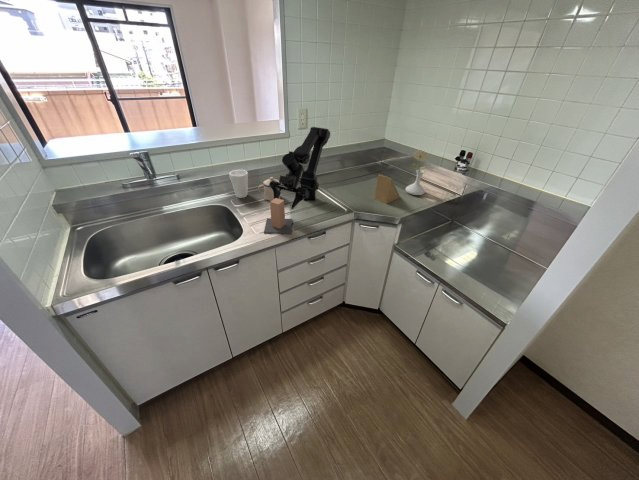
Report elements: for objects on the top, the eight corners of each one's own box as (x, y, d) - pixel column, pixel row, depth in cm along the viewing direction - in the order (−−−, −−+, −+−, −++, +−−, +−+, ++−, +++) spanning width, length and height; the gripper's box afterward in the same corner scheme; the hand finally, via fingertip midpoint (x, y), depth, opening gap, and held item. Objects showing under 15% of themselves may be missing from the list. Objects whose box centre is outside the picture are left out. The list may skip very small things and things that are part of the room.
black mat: (291, 219, 127) (291, 218, 127) (290, 233, 117) (290, 232, 117) (266, 219, 126) (266, 218, 126) (263, 233, 116) (263, 232, 116)
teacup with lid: (281, 194, 150) (280, 174, 143) (280, 201, 142) (279, 181, 135) (260, 193, 149) (258, 174, 142) (257, 200, 142) (255, 180, 135)
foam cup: (234, 191, 150) (231, 169, 142) (251, 191, 150) (248, 169, 143) (231, 199, 142) (227, 176, 134) (248, 199, 143) (246, 176, 135)
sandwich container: (401, 196, 155) (407, 172, 146) (386, 204, 146) (391, 178, 137) (388, 192, 160) (394, 168, 151) (373, 199, 151) (378, 174, 142)
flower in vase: (427, 194, 159) (440, 153, 145) (415, 198, 153) (428, 156, 139) (410, 186, 167) (421, 147, 153) (398, 190, 162) (408, 149, 148)
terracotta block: (276, 221, 124) (275, 197, 116) (285, 224, 122) (284, 200, 115) (271, 226, 120) (269, 201, 113) (280, 228, 119) (278, 204, 112)
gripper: (269, 163, 118) (257, 195, 116) (306, 171, 112) (295, 205, 110) (279, 174, 128) (268, 204, 126) (314, 182, 122) (303, 213, 121)
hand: (283, 206), depth 120 cm, fingers open, 9 cm apart
